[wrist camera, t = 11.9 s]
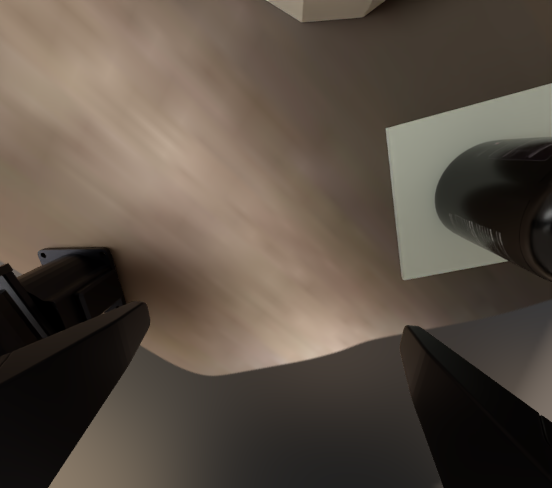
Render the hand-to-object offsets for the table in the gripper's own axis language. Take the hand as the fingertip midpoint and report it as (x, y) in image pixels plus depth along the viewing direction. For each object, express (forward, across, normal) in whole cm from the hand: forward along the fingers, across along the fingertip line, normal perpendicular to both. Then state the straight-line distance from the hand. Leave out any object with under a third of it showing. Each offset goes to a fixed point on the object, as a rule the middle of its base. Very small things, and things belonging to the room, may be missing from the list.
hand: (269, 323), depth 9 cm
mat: (+14, -14, -3) cm, 19 cm away
